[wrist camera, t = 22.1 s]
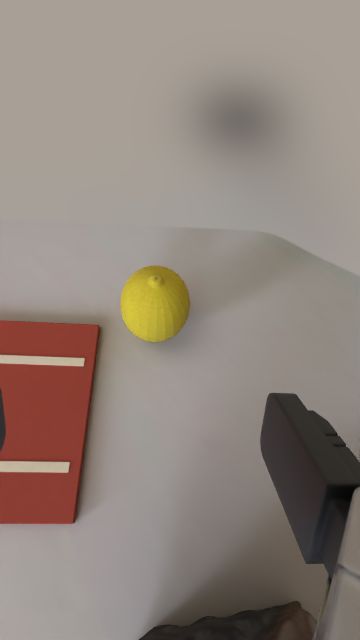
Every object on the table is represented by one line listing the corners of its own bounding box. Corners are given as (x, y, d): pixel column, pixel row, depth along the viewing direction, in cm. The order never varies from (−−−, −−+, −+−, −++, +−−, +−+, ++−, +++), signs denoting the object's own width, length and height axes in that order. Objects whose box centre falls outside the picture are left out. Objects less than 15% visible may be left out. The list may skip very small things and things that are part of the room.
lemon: (132, 294, 31) (128, 239, 24) (189, 306, 31) (201, 255, 24) (116, 347, 29) (106, 303, 22) (178, 361, 29) (188, 321, 22)
